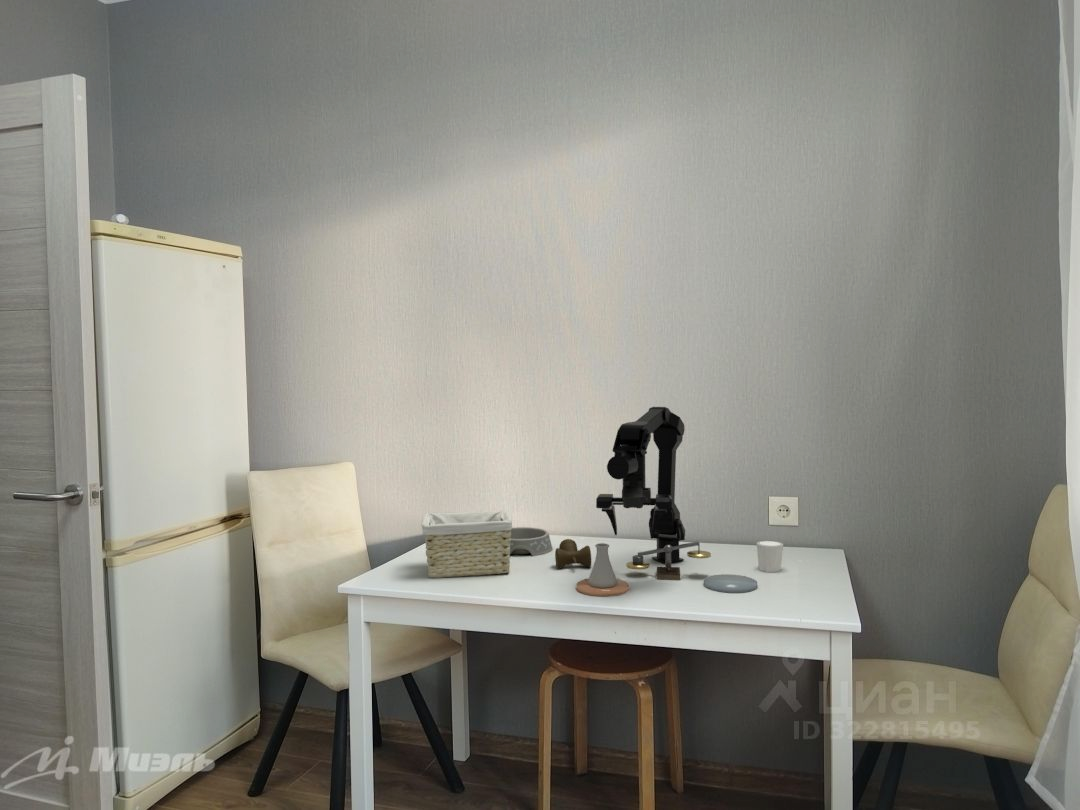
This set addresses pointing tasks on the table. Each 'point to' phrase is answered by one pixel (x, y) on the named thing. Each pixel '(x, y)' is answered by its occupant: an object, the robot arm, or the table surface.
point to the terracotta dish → (596, 591)
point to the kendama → (572, 554)
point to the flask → (602, 569)
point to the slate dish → (730, 583)
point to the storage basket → (467, 543)
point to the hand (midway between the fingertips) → (634, 535)
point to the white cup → (769, 555)
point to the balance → (667, 560)
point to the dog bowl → (530, 541)
